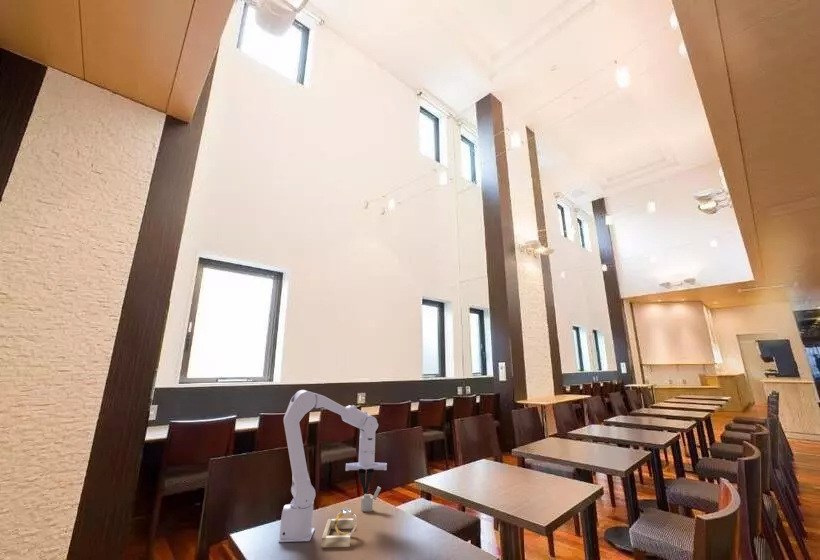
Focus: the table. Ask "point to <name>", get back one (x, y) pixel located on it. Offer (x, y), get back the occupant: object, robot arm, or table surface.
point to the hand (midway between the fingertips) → (365, 492)
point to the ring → (344, 511)
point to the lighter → (369, 501)
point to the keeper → (340, 539)
